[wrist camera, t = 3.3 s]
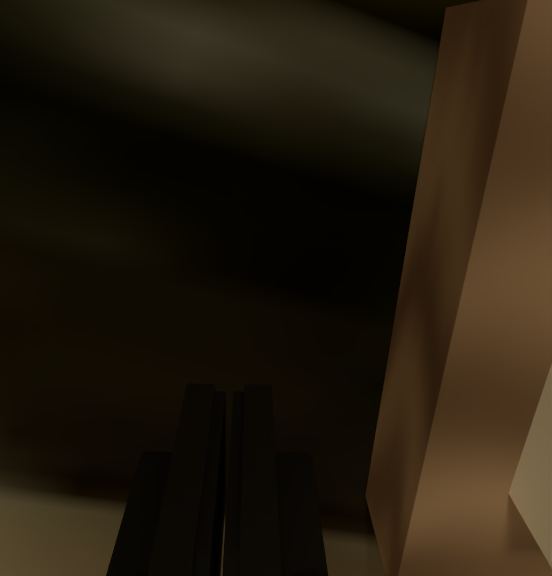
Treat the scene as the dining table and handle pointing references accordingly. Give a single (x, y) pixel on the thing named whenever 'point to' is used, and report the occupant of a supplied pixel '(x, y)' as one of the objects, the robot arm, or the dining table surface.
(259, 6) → the dining table surface
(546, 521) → the coaster
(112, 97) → the dining table surface
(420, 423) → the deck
